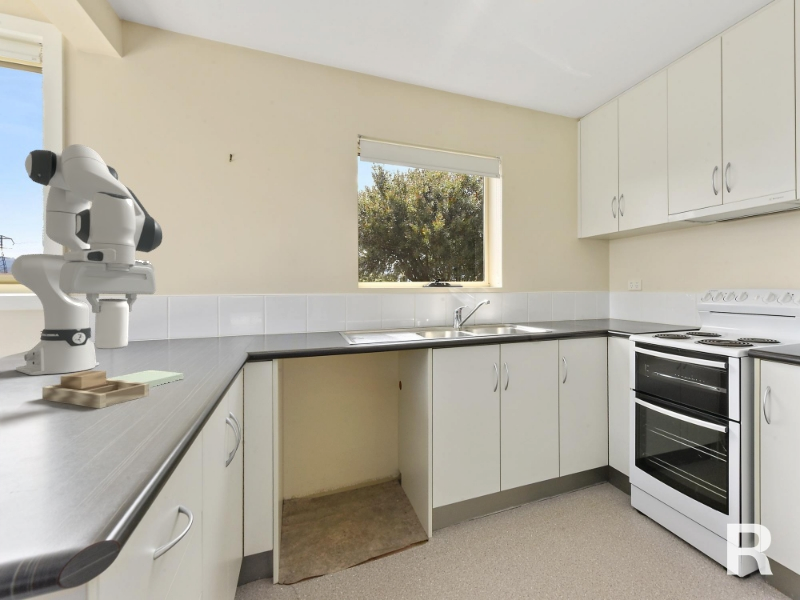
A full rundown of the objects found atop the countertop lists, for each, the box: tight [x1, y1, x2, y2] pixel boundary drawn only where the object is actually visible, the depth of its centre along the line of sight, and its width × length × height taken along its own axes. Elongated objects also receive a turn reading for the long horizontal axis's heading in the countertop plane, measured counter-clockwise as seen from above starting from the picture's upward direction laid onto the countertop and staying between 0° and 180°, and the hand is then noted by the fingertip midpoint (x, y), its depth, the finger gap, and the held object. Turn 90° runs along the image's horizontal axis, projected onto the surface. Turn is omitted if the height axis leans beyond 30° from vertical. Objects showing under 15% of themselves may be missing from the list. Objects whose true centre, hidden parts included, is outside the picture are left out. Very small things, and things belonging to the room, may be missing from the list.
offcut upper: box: [60, 370, 107, 389], centre depth 89 cm, size 6×7×3 cm
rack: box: [41, 378, 150, 409], centre depth 88 cm, size 20×11×3 cm, turn 73°
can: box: [94, 298, 130, 350], centre depth 87 cm, size 6×6×12 cm
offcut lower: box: [67, 383, 108, 391], centre depth 89 cm, size 6×7×3 cm
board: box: [106, 369, 185, 388], centre depth 103 cm, size 14×14×2 cm
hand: (112, 312), depth 87 cm, fingers closed on can, 5 cm apart
